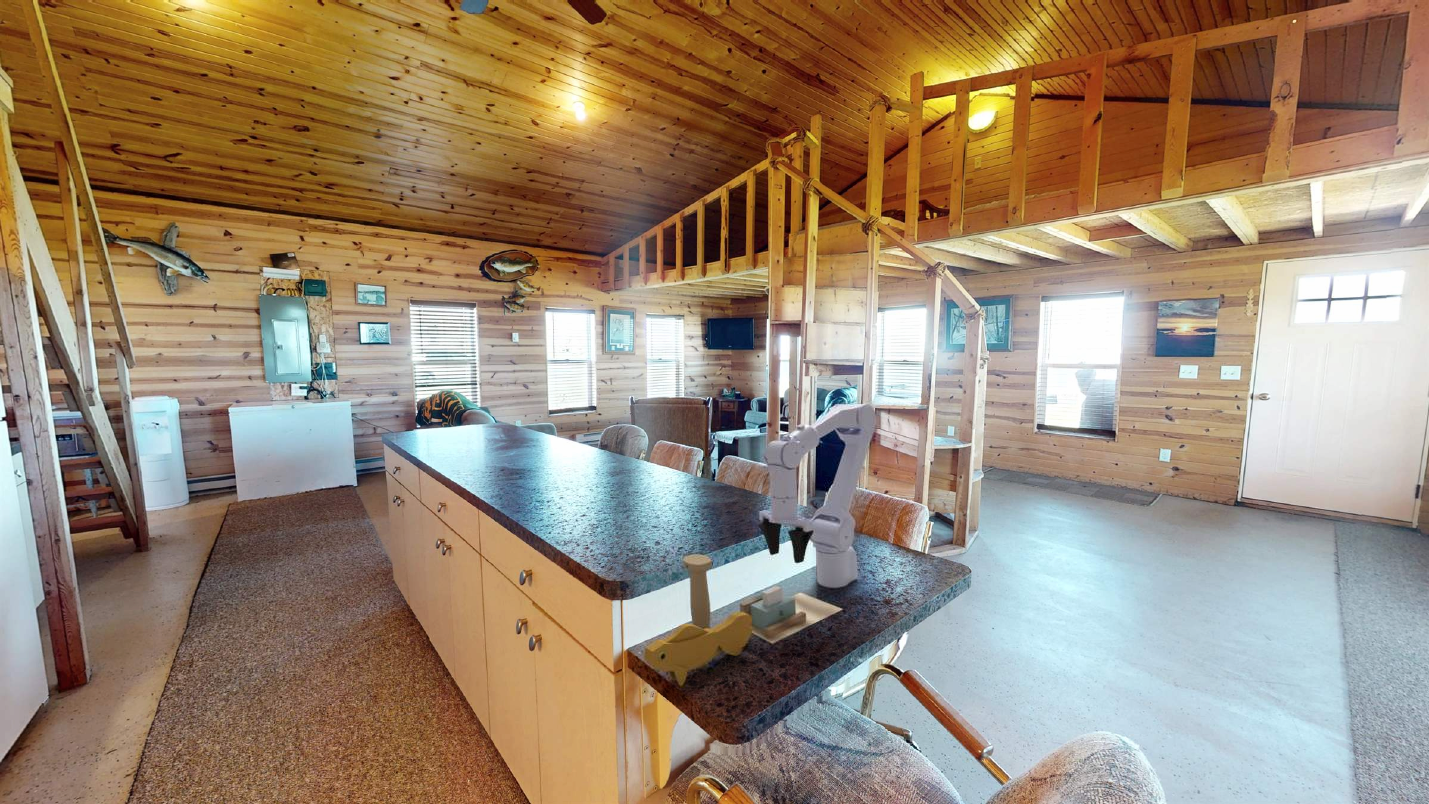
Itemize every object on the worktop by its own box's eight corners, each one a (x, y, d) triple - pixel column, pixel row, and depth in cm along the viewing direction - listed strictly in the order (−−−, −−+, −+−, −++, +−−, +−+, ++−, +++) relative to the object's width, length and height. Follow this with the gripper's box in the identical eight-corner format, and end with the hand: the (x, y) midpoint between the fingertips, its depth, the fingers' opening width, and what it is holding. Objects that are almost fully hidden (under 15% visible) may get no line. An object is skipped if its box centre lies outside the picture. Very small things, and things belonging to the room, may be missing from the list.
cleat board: (800, 596, 117) (799, 575, 117) (843, 613, 108) (841, 590, 108) (731, 626, 105) (730, 602, 105) (772, 648, 96) (771, 622, 96)
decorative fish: (648, 694, 82) (656, 628, 83) (638, 685, 84) (646, 622, 85) (751, 671, 96) (757, 615, 97) (740, 664, 98) (746, 610, 99)
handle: (700, 643, 99) (695, 566, 99) (683, 631, 105) (678, 558, 104) (721, 635, 102) (716, 560, 101) (703, 624, 107) (698, 552, 107)
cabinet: (780, 611, 108) (778, 581, 108) (799, 620, 104) (797, 588, 104) (751, 624, 104) (749, 592, 103) (769, 633, 99) (767, 600, 99)
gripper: (748, 494, 116) (750, 554, 117) (795, 504, 105) (797, 570, 105) (771, 489, 121) (773, 547, 121) (818, 498, 109) (821, 562, 109)
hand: (786, 557), depth 113 cm, fingers open, 7 cm apart
